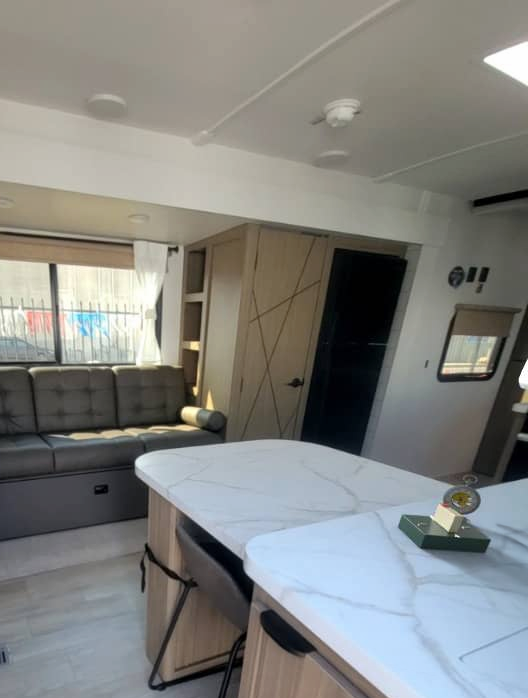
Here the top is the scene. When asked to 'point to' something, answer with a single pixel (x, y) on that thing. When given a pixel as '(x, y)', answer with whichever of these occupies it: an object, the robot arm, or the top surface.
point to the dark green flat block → (442, 535)
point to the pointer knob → (448, 518)
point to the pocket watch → (463, 498)
